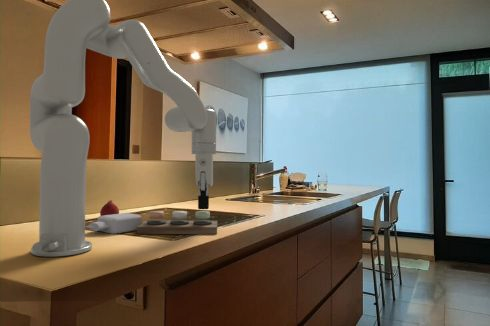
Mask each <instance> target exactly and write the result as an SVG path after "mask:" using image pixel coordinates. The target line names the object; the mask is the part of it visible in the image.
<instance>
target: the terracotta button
mask: <svg viewBox="0 0 490 326" xmlns="http://www.w3.org/2000/svg"><path fill="white" fill-rule="evenodd" d="M164 218H165V211H163V210H151V211H149V212H148V219H150V220H162V219H164Z"/></svg>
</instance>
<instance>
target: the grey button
mask: <svg viewBox="0 0 490 326" xmlns="http://www.w3.org/2000/svg"><path fill="white" fill-rule="evenodd" d="M171 218H172V219H174V220H186V219H187V218H188V211H186V210H174V211H172V217H171Z"/></svg>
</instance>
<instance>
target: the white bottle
mask: <svg viewBox="0 0 490 326" xmlns="http://www.w3.org/2000/svg"><path fill="white" fill-rule="evenodd" d="M142 219H143V218H142V216H141V215H140V214H137V213H131V212H130V213H129V212H122V213H119V214H112V215H104V216H98V217H97V220H96V221H93V222H90V223H89V225H85V229H87V228H88V229H90V230H91V231H94V232H103V233H108V234H110V235H111V234H112V235H116V234H117V233H118V234H122V233H123V232H124V233H129V232H135V231H136V232H137V227H138V226H139V225H140V224H142V223H143V222H142Z"/></svg>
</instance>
